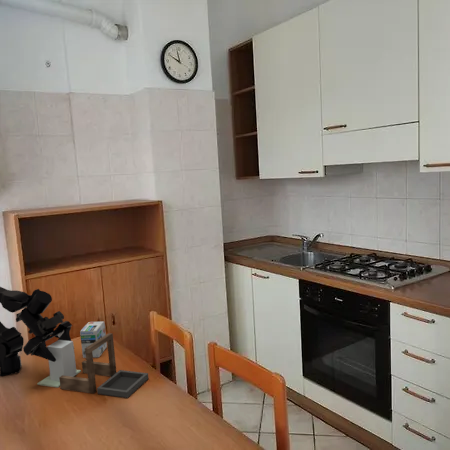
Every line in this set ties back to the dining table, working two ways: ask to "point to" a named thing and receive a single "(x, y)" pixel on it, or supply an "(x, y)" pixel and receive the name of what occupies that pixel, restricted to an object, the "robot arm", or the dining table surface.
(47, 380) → the pad
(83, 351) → the light bulb box
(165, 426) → the dining table surface
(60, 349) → the block
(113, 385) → the box
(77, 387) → the wooden gate frame
